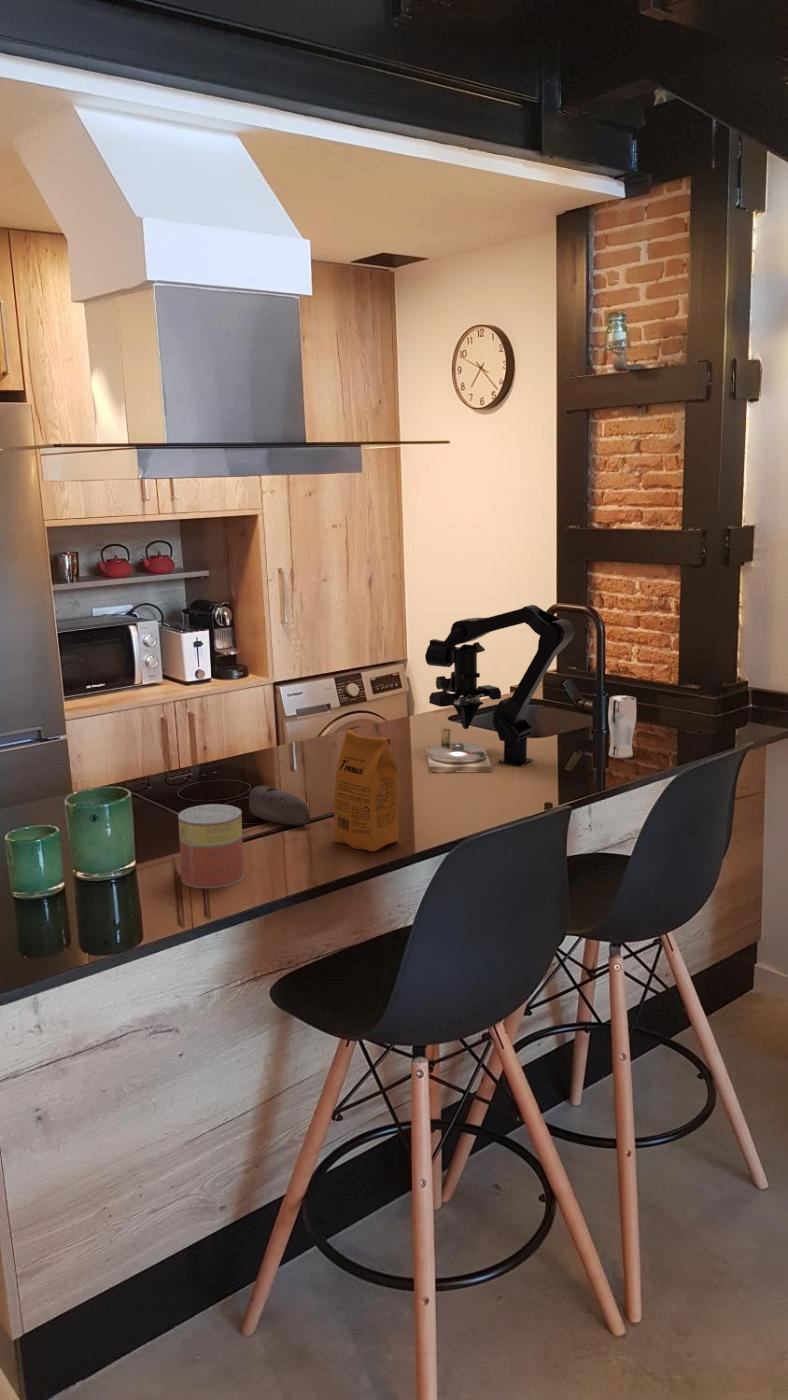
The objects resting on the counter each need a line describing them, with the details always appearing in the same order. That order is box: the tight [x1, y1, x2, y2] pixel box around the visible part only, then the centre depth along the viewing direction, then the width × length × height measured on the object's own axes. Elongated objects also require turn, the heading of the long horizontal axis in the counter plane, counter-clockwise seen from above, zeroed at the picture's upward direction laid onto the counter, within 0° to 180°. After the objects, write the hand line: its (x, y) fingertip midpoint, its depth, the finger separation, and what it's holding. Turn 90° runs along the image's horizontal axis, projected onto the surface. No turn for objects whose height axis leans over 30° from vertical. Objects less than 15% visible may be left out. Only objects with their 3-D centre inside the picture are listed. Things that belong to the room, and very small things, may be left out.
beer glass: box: [607, 695, 637, 759], centre depth 275 cm, size 7×7×15 cm
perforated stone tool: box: [248, 785, 311, 827], centre depth 225 cm, size 15×5×7 cm, turn 54°
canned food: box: [177, 803, 245, 889], centre depth 194 cm, size 11×11×12 cm
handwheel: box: [429, 727, 487, 763], centre depth 269 cm, size 14×14×6 cm
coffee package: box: [333, 729, 400, 852], centre depth 211 cm, size 10×12×22 cm
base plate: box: [425, 748, 492, 773], centre depth 270 cm, size 15×18×2 cm
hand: (465, 728), depth 277 cm, fingers closed
